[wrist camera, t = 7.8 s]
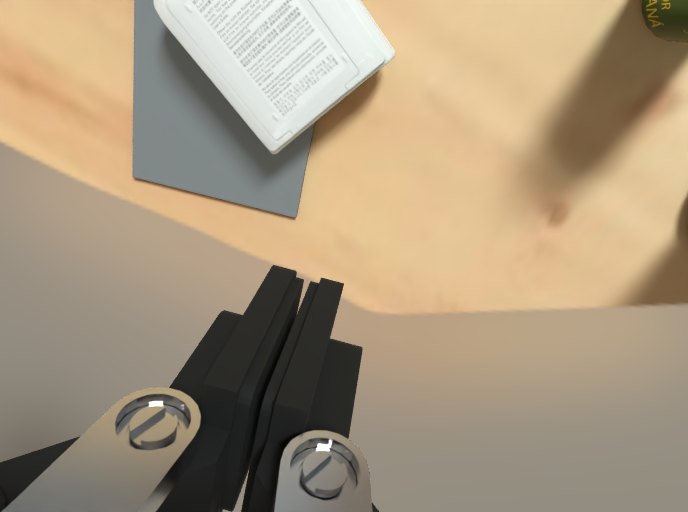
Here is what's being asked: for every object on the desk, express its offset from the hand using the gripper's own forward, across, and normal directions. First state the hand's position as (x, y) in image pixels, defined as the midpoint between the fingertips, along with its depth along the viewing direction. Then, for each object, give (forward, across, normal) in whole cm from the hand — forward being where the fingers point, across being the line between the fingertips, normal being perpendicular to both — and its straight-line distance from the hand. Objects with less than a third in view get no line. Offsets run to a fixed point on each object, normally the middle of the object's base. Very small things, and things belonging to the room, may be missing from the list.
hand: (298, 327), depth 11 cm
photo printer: (+22, +3, -1) cm, 22 cm away
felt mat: (+24, +11, 0) cm, 27 cm away
